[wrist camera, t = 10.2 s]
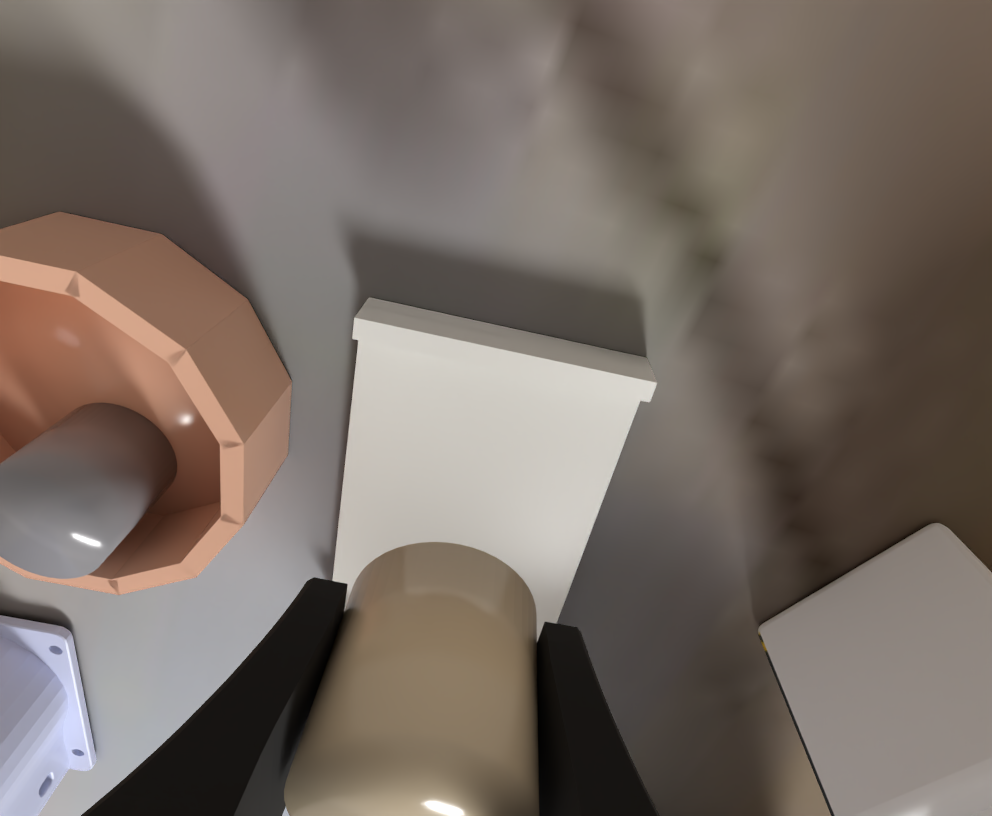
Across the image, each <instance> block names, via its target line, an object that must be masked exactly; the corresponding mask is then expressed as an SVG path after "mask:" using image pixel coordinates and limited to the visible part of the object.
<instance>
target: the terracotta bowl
mask: <svg viewBox="0 0 992 816" xmlns="http://www.w3.org/2000/svg"><path fill="white" fill-rule="evenodd" d="M291 389H292V381H291V379H290V377H289V375H288V373H287V372H286V370H285V368H284V366H283V364H282V362H281V360H280V358H279V357H278V355H277V353H276V351H275V349H274V347H273V345H272V344H271V342H270V340H269V338H268V336H267V334H266V332H265V330H264V329H263V327H262V325H261V323H260V321H259V319H258V317H257V316H256V314H255V312H254V310H253V308H252V306H251V304H250V302H249V301H248V299H247V298H245V297H244V296H243V295H241V294H240V293H239V292H237V291H236V290H235V289H233V288H232V287H231V286H229V285H228V284H227V283H225V282H224V281H223V280H222V279H220V278H219V277H218V276H216V275H215V274H214V273H212V272H211V271H210V270H208V269H207V268H206V267H204V266H203V265H202V264H200V263H199V262H198V261H197V260H195V259H194V258H193V257H191V256H190V255H189V254H187V253H186V252H185V251H183V250H182V249H181V248H179V247H178V246H177V245H175V244H174V243H173V242H172V241H170V240H169V239H168V238H166V237H165V236H164V235H162V234H159V233H155V232H150V231H146V230H141V229H137V228H132V227H128V226H123V225H118V224H114V223H109V222H105V221H100V220H96V219H91V218H87V217H82V216H77V215H73V214H68V213H64V212H56V213H52V214H49V215H46V216H42V217H39V218H36V219H32V220H29V221H26V222H22V223H19V224H16V225H12V226H9V227H5V228H2V229H0V463H2V462H3V461H4V460H6V459H7V458H9V457H10V456H11V455H13V454H14V453H15V452H17V451H18V450H19V449H21V448H22V447H24V446H25V445H26V444H28V443H29V442H30V441H32V440H33V439H35V438H36V437H37V436H39V435H40V434H41V433H43V432H44V431H46V430H47V429H48V428H50V427H51V426H52V425H54V424H55V423H56V422H58V421H59V420H61V419H62V418H63V417H65V416H66V415H67V414H69V413H70V412H72V411H73V410H75V409H76V408H78V407H80V406H82V405H86V404H90V403H111V404H116V405H120V406H123V407H126V408H129V409H131V410H133V411H135V412H137V413H139V414H141V415H142V416H144V417H145V418H147V419H148V420H150V421H151V422H152V423H153V424H155V425H156V426H157V427H158V428H159V429H160V430H161V431H162V432H163V434H164V435H165V436H166V438H167V439H168V441H169V442H170V444H171V446H172V448H173V450H174V452H175V456H176V460H177V473H176V477H175V480H174V482H173V483H172V485H171V486H170V487H169V488H168V489H167V491H166V492H165V493H164V494H163V495H162V496H161V497H160V498H159V500H158V501H157V502H156V503H155V504H154V505H153V506H152V508H151V509H150V510H149V511H148V512H147V513H146V514H145V515H144V517H143V518H142V519H141V520H140V521H139V522H138V523H137V524H136V526H135V527H134V528H133V529H132V530H131V531H130V532H129V534H128V535H127V536H126V537H125V538H124V539H123V540H122V541H121V543H120V544H119V545H118V546H117V547H116V548H115V549H114V551H113V552H112V553H111V554H110V555H109V556H108V557H107V558H106V560H105V561H104V562H103V563H102V564H101V565H100V566H99V568H97V569H96V570H95V571H94V572H92V573H90V574H88V575H85V576H82V577H78V578H71V579H57V578H49V577H45V576H40V575H37V574H34V573H31V572H28V571H26V570H23V569H21V568H19V567H17V566H15V565H13V564H11V563H10V562H8V561H6V560H5V559H3V558H2V557H0V564H2V565H4V566H6V567H7V568H9V569H11V570H13V571H15V572H17V573H19V574H20V575H22V576H24V577H26V578H30V579H36V580H41V581H46V582H52V583H57V584H63V585H68V586H74V587H79V588H84V589H90V590H95V591H101V592H106V593H112V594H117V595H121V594H125V593H129V592H134V591H138V590H143V589H147V588H151V587H156V586H160V585H165V584H169V583H173V582H178V581H182V580H187V579H191V578H195V577H197V576H198V575H199V574H200V573H201V571H202V570H203V569H204V568H205V567H206V566H207V565H208V564H209V563H210V562H211V560H212V559H213V558H214V557H215V556H216V555H217V554H218V553H219V552H220V550H221V549H222V548H223V547H224V546H225V545H226V544H227V543H228V542H229V541H230V539H231V538H232V537H233V536H234V535H235V534H236V533H237V532H238V531H239V529H240V528H241V527H242V526H243V525H244V524H245V522H246V520H247V519H248V517H249V516H250V514H251V513H252V511H253V509H254V508H255V506H256V505H257V503H258V501H259V500H260V498H261V497H262V495H263V494H264V492H265V490H266V489H267V487H268V486H269V484H270V482H271V481H272V479H273V478H274V476H275V475H276V473H277V471H278V470H279V468H280V467H281V465H282V463H283V462H284V460H285V459H286V457H287V456H288V447H289V428H290V409H291Z"/></svg>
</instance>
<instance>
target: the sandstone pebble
mask: <svg viewBox="0 0 992 816" xmlns="http://www.w3.org/2000/svg"><path fill="white" fill-rule="evenodd" d="M284 801H285V805H286V808H287V811H288V813H289V815H290V816H539V759H538V686H537V614H536V605H535V602H534V598H533V595H532V593H531V591H530V589H529V587H528V586H527V585H526V583H525V582H524V580H523V579H522V578H521V577H520V576H519V575H518V574H517V573H516V572H515V571H514V570H513V569H512V568H511V567H510V566H508V565H507V564H506V563H504V562H503V561H501V560H499V559H498V558H496V557H494V556H492V555H490V554H488V553H486V552H484V551H481V550H478V549H475V548H473V547H469V546H465V545H461V544H454V543H447V542H422V543H415V544H409V545H405V546H402V547H398V548H395V549H393V550H390V551H388V552H386V553H384V554H382V555H380V556H379V557H377V558H375V559H374V560H373V561H372V562H370V563H369V564H368V565H367V566H366V567H365V568H364V569H363V570H362V571H361V573H360V574H359V576H358V577H357V579H356V581H355V583H354V585H353V587H352V590H351V593H350V596H349V599H348V602H347V605H346V608H345V611H344V614H343V617H342V620H341V623H340V626H339V629H338V631H337V634H336V637H335V640H334V643H333V646H332V649H331V652H330V655H329V658H328V661H327V663H326V666H325V669H324V672H323V675H322V678H321V681H320V684H319V687H318V689H317V692H316V695H315V698H314V701H313V704H312V707H311V710H310V713H309V716H308V719H307V722H306V724H305V727H304V730H303V733H302V736H301V739H300V742H299V745H298V748H297V751H296V754H295V757H294V759H293V762H292V765H291V768H290V771H289V774H288V777H287V780H286V783H285V788H284Z"/></svg>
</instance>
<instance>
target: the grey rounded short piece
mask: <svg viewBox="0 0 992 816" xmlns="http://www.w3.org/2000/svg"><path fill="white" fill-rule="evenodd" d="M176 473H177V460H176V456H175V452H174V450H173V448H172V446H171V444H170V442H169V441H168V439H167V438H166V436H165V435H164V434H163V432H162V431H161V430H160V429H159V428H158V427H157V426H156V425H155V424H153V423H152V422H151V421H150V420H148V419H147V418H145V417H144V416H142V415H141V414H139V413H137V412H135V411H133V410H131V409H129V408H126V407H123V406H120V405H116V404H111V403H90V404H86V405H82V406H80V407H78V408H76V409H75V410H73V411H72V412H70V413H69V414H67V415H66V416H65V417H63V418H62V419H61V420H59V421H58V422H56V423H55V424H54V425H52V426H51V427H50V428H48V429H47V430H46V431H44V432H43V433H41V434H40V435H39V436H37V437H36V438H35V439H33V440H32V441H30V442H29V443H28V444H26V445H25V446H24V447H22V448H21V449H19V450H18V451H17V452H15V453H14V454H13V455H11V456H10V457H9V458H7V459H6V460H4V461H3V462H2V463H0V557H2V558H3V559H5V560H6V561H8V562H10V563H11V564H13V565H15V566H17V567H19V568H21V569H23V570H26V571H28V572H31V573H34V574H37V575H40V576H45V577H49V578H57V579H71V578H78V577H82V576H85V575H88V574H90V573H92V572H94V571H95V570H96V569H97V568H99V566H100V565H101V564H102V563H103V562H104V561H105V560H106V558H107V557H108V556H109V555H110V554H111V553H112V552H113V551H114V549H115V548H116V547H117V546H118V545H119V544H120V543H121V541H122V540H123V539H124V538H125V537H126V536H127V535H128V534H129V532H130V531H131V530H132V529H133V528H134V527H135V526H136V524H137V523H138V522H139V521H140V520H141V519H142V518H143V517H144V515H145V514H146V513H147V512H148V511H149V510H150V509H151V508H152V506H153V505H154V504H155V503H156V502H157V501H158V500H159V498H160V497H161V496H162V495H163V494H164V493H165V492H166V491H167V489H168V488H169V487H170V486H171V485H172V483H173V482H174V480H175V477H176Z"/></svg>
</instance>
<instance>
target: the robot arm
mask: <svg viewBox="0 0 992 816" xmlns="http://www.w3.org/2000/svg"><path fill="white" fill-rule="evenodd" d="M347 586H348V584H346V583H340V582H335V581H330V580H325V579H319V578H312V579H310V580H308V581H307V582H306V584H305V585H304V587H303V588H302V590H301V591H300V592H299V594H298V595H297V597H296V598H295V599H294V601H293V602H292V603H291V605H290V606H289V607H288V609H287V610H286V611H285V613H284V614H283V615H282V616H281V618H280V619H279V620H278V621H277V623H276V624H275V625H274V626H273V628H272V629H271V630H270V631H269V632H268V634H267V635H266V636H265V637H264V638H263V640H262V641H261V642H260V643H259V644H258V645H257V646H256V648H255V649H254V650H253V651H252V652H251V653H250V654H249V656H248V657H247V658H246V659H245V660H244V661H243V662H242V663H241V665H240V666H239V667H238V668H237V669H236V670H235V671H234V672H233V674H232V675H231V676H230V677H229V678H228V679H227V680H226V681H225V682H224V683H223V684H222V685H221V686H220V687H219V688H218V689H217V690H216V691H215V693H214V694H213V695H212V696H211V697H210V698H209V699H208V700H207V701H206V702H205V703H204V704H203V705H202V706H201V707H200V708H199V709H198V710H197V711H196V712H195V713H194V714H193V715H192V716H191V717H190V718H189V719H188V720H187V721H186V722H185V723H184V724H183V725H182V726H181V727H180V728H179V729H178V730H177V731H176V732H175V733H174V734H173V735H172V736H171V737H170V738H169V739H167V740H166V741H165V742H164V743H163V744H162V745H161V746H160V747H159V748H158V749H157V750H156V751H155V752H154V753H153V754H151V755H150V756H149V757H148V758H147V759H146V760H145V761H144V762H143V763H141V764H140V765H139V766H138V767H137V768H136V769H135V770H134V771H133V772H131V773H130V774H129V775H128V776H127V777H126V778H125V779H124V780H122V781H121V782H120V783H119V784H118V785H117V786H116V787H114V788H113V789H112V790H111V791H110V792H108V793H107V794H106V795H105V796H104V797H103V798H101V799H100V800H99V801H98V802H97V803H95V804H94V805H93V806H92V807H91V808H90V809H88V810H87V811H86V812H85V813H84V814H82V815H81V816H282V814H283V811H284V809H285V806H286V805H285V801H284V788H285V783H286V780H287V777H288V774H289V771H290V768H291V765H292V762H293V759H294V757H295V754H296V751H297V748H298V745H299V742H300V739H301V736H302V733H303V730H304V727H305V724H306V722H307V719H308V716H309V713H310V710H311V707H312V704H313V701H314V698H315V695H316V692H317V689H318V687H319V684H320V681H321V678H322V675H323V672H324V669H325V666H326V663H327V661H328V658H329V655H330V652H331V649H332V646H333V643H334V640H335V637H336V634H337V631H338V629H339V626H340V623H341V620H342V617H343V614H344V609H345V601H346V593H347ZM537 686H538V759H539V816H659V814H658V812H657V810H656V808H655V806H654V804H653V802H652V800H651V798H650V796H649V794H648V792H647V790H646V788H645V786H644V784H643V782H642V780H641V778H640V776H639V774H638V772H637V770H636V768H635V766H634V763H633V761H632V759H631V757H630V755H629V753H628V750H627V748H626V746H625V744H624V741H623V739H622V737H621V735H620V732H619V730H618V728H617V726H616V723H615V721H614V719H613V716H612V714H611V712H610V709H609V707H608V704H607V702H606V699H605V697H604V694H603V692H602V689H601V687H600V684H599V682H598V679H597V677H596V674H595V671H594V669H593V666H592V663H591V660H590V658H589V655H588V652H587V649H586V646H585V643H584V640H583V637H582V634H581V632H580V631H579V629H578V628H577V627H571V626H566V625H561V624H556V623H550V622H544V625H543V628H542V631H541V633H540V636H539V639H538V641H537ZM96 760H97V759H96V754H95V749H94V744H93V739H92V734H91V729H90V723H89V718H88V713H87V708H86V703H85V698H84V692H83V687H82V682H81V677H80V672H79V667H78V661H77V656H76V651H75V646H74V641H73V636H72V634H71V632H70V631H69V630H68V629H66V628H64V627H62V626H58V625H52V624H47V623H41V622H36V621H30V620H25V619H19V618H14V617H8V616H3V615H0V816H38V815H39V813H40V812H41V810H42V809H43V807H44V806H45V804H46V803H47V801H48V800H49V798H50V797H51V795H52V794H53V792H54V791H55V789H56V787H57V786H58V784H59V783H60V781H61V780H62V778H63V777H64V775H65V774H66V772H67V771H68V769H74V770H80V771H88V770H90V769H92V768H93V766H94V764H95V763H96Z"/></svg>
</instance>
